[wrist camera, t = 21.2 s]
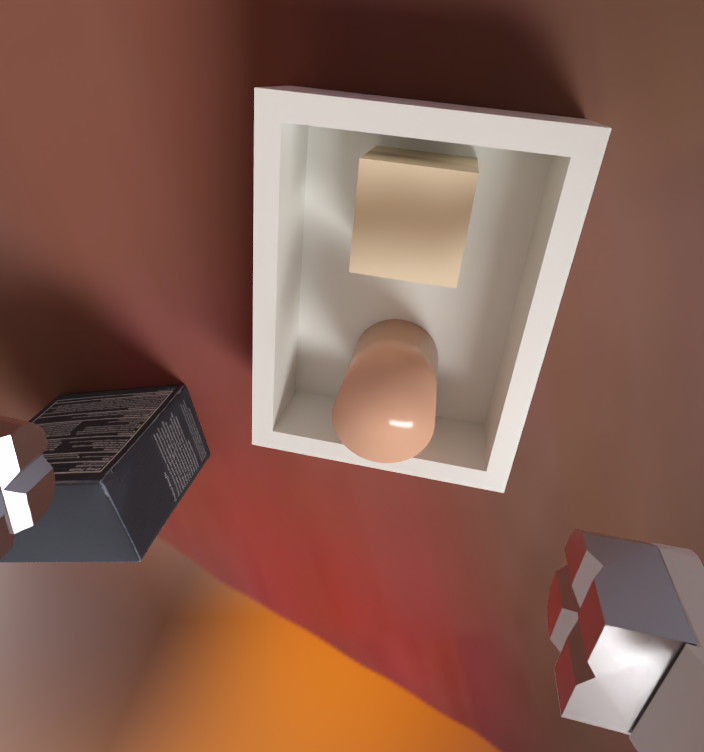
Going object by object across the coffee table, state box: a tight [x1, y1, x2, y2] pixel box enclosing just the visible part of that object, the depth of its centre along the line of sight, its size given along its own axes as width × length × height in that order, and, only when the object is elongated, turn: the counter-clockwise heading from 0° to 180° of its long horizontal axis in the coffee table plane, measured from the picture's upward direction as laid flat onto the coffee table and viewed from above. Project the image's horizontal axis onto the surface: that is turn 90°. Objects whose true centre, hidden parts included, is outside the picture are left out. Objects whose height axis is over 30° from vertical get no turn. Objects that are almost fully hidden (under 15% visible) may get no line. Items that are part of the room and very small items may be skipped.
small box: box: [0, 385, 210, 562], centre depth 36 cm, size 11×6×10 cm, turn 102°
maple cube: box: [349, 146, 479, 288], centre depth 26 cm, size 5×5×5 cm
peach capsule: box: [332, 319, 438, 463], centre depth 30 cm, size 5×5×7 cm
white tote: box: [252, 86, 612, 493], centre depth 29 cm, size 14×18×6 cm
